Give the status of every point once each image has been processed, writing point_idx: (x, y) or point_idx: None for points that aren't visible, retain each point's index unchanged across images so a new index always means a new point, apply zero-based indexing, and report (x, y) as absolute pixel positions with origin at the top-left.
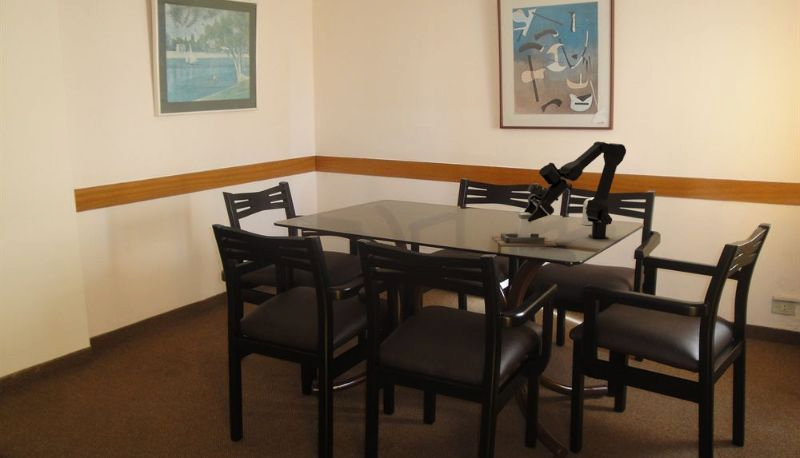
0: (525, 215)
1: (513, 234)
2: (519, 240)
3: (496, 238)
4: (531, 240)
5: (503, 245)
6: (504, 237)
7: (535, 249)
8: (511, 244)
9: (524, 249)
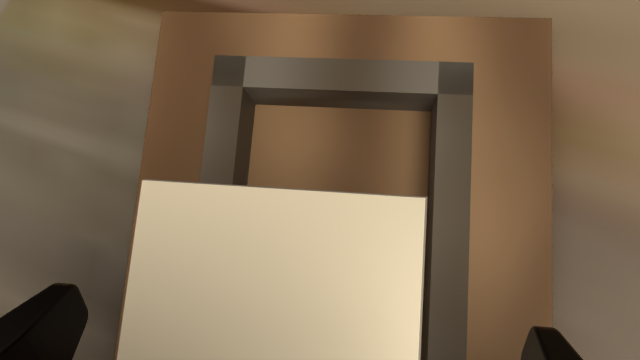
0: (135, 274)
1: (432, 196)
2: None
3: (459, 39)
4: None
5: (161, 33)
6: (304, 61)
7: (6, 286)
8: (173, 109)
9: (25, 185)
